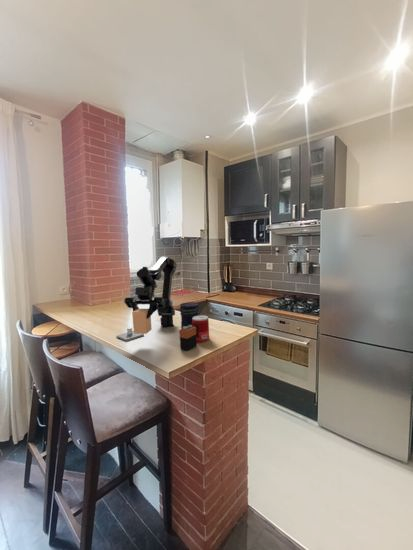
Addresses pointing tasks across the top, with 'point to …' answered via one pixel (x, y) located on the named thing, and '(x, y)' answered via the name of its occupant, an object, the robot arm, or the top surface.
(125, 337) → the peg stand
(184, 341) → the battery
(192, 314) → the storage jar
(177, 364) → the top surface
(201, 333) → the canned food
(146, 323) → the wooden block
